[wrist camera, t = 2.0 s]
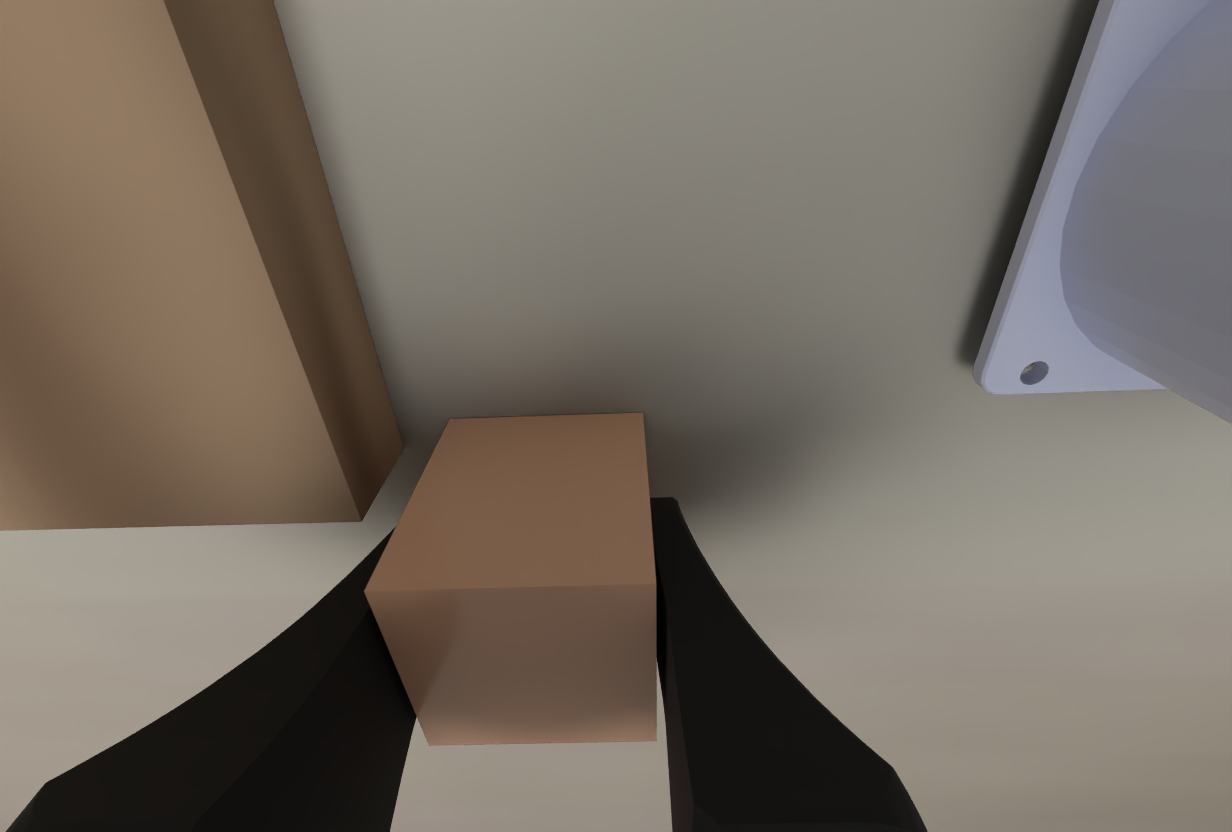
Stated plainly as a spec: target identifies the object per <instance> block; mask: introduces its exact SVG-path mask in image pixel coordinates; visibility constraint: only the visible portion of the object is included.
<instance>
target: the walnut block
mask: <svg viewBox="0 0 1232 832" xmlns="http://www.w3.org/2000/svg"><path fill="white" fill-rule="evenodd" d="M403 449H404V445H403V442H402V438H401V435H400V432H399V428H398V425H397V421H396V418H395V414H394V411H393V408H392V404H391V401H390V397H389V394H388V391H387V387H386V384H385V380H384V377H383V374H382V370H381V367H380V363H379V360H378V356H377V353H376V350H375V346H374V343H373V339H372V336H371V333H370V329H369V326H368V322H367V319H366V315H365V312H364V309H363V305H362V302H361V298H360V295H359V292H358V288H357V285H356V281H355V278H354V275H353V271H352V268H351V264H350V261H349V257H348V254H347V251H346V247H345V244H344V240H343V237H342V234H341V230H340V227H339V223H338V220H337V217H336V213H335V210H334V206H333V203H332V199H331V196H330V193H329V189H328V186H327V182H326V179H325V176H324V172H323V169H322V165H321V162H320V158H319V155H318V152H317V148H316V145H315V141H314V138H313V135H312V131H311V128H310V124H309V121H308V118H307V114H306V111H305V107H304V104H303V100H302V97H301V94H300V90H299V87H298V83H297V80H296V77H295V73H294V70H293V66H292V63H291V59H290V56H289V53H288V49H287V46H286V42H285V39H284V36H283V32H282V29H281V25H280V22H279V19H278V15H277V12H276V8H275V5H274V1H273V0H0V531H5V530H45V529H85V528H125V527H164V526H204V525H244V524H284V523H324V522H362V520H363V518H364V517H365V515H366V513H367V511H368V510H369V508H370V506H371V504H372V503H373V501H374V499H375V497H376V496H377V494H378V492H379V490H380V489H381V487H382V485H383V484H384V482H385V480H386V478H387V477H388V475H389V473H390V471H391V470H392V468H393V466H394V464H395V463H396V461H397V459H398V457H399V456H400V454H401V452H402V450H403Z"/></svg>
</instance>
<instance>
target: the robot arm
mask: <svg viewBox="0 0 1232 832" xmlns="http://www.w3.org/2000/svg"><path fill="white" fill-rule="evenodd" d="M1034 362H1035V365H1034V366H1033V367H1032V369H1031V370H1030V371H1028V372H1027V373H1025V374H1023V375H1021V373H1022V371H1023V370H1024V368H1025V367H1027V366H1028V365H1030V364H1031V363H1034ZM973 378H974V380H975V382H976V383H977V384H978V385H979V386H981V387H982V388H983V389H984V390H986V391H987V392H989V393H990V394H997V395H1008V394H1037V393H1067V392H1097V391H1127V390H1156V389H1170V390H1171V391H1173V392H1175V393H1177V394H1179V395H1180V396H1182V397H1184V398H1186V399H1188V400H1189V401H1191V402H1193V403H1195V404H1196V405H1198V406H1200V407H1202V408H1204V409H1205V410H1207V411H1209V412H1211V413H1213V414H1214V415H1216V416H1218V417H1220V418H1222V419H1223V420H1225V421H1227V422H1229V423H1231V424H1232V0H1099V3H1098V6H1097V9H1096V12H1095V15H1094V18H1093V21H1092V23H1091V26H1090V29H1089V32H1088V35H1087V38H1086V41H1085V44H1084V47H1083V50H1082V53H1081V56H1080V58H1079V61H1078V64H1077V67H1076V70H1075V73H1074V76H1073V79H1072V82H1071V85H1070V88H1069V91H1068V93H1067V96H1066V99H1065V102H1064V105H1063V108H1062V111H1061V114H1060V117H1059V120H1058V123H1057V125H1056V128H1055V131H1054V134H1053V137H1052V140H1051V143H1050V146H1049V149H1048V152H1047V155H1046V158H1045V160H1044V163H1043V166H1042V169H1041V172H1040V175H1039V178H1038V181H1037V184H1036V187H1035V190H1034V192H1033V195H1032V198H1031V201H1030V204H1029V207H1028V210H1027V213H1026V216H1025V219H1024V222H1023V225H1022V227H1021V230H1020V233H1019V236H1018V239H1017V242H1016V245H1015V248H1014V251H1013V254H1012V257H1011V259H1010V262H1009V265H1008V268H1007V271H1006V274H1005V277H1004V280H1003V283H1002V286H1001V289H1000V292H999V294H998V297H997V300H996V303H995V306H994V309H993V312H992V315H991V318H990V321H989V324H988V327H987V329H986V332H985V335H984V338H983V341H982V344H981V347H980V350H979V353H978V356H977V359H976V361H975V364H974V368H973ZM650 508H651V521H652V534H653V547H654V560H655V573H656V657H657V664H658V670H659V677H660V683H661V690H662V696H663V704H664V713H665V722H666V736H667V751H668V766H669V782H670V798H671V813H672V829H673V832H927V829H926V827H925V825H924V823H923V821H922V819H921V816H920V815H919V813H918V811H917V809H916V807H915V805H914V803H913V801H912V800H911V798H910V796H909V794H908V792H907V790H906V789H905V787H904V785H903V784H902V782H901V780H900V778H899V777H898V775H897V773H896V772H895V770H894V768H893V767H892V766H891V765H889V764H888V763H887V762H886V761H885V760H884V759H882V758H881V757H880V756H879V755H878V754H877V753H875V752H874V751H873V750H872V749H871V748H869V747H868V746H867V745H866V744H865V743H864V742H863V741H861V740H860V739H859V738H858V737H857V736H856V735H855V734H854V733H852V732H851V731H850V730H849V729H848V728H847V727H846V726H845V725H844V724H842V723H841V722H840V721H839V720H838V719H837V718H836V717H835V716H834V715H833V714H832V713H831V712H830V711H829V710H828V709H827V708H826V707H825V706H824V705H822V704H821V703H820V702H819V701H818V700H817V699H816V698H815V697H814V696H813V695H812V694H811V693H810V692H809V691H808V689H807V688H806V687H805V686H804V685H803V684H802V683H801V682H800V681H799V680H798V679H797V678H796V677H795V676H794V675H793V674H792V673H791V672H790V671H789V670H788V668H787V667H786V666H785V665H784V664H783V663H782V662H781V661H780V660H779V659H778V658H777V657H776V655H775V654H774V653H773V652H772V651H771V650H770V648H769V647H768V646H767V645H766V644H765V643H764V641H763V640H762V639H761V638H760V637H759V635H758V634H757V633H756V632H755V630H754V629H753V628H752V627H751V625H750V624H749V623H748V622H747V620H746V619H745V618H744V616H743V615H742V614H741V612H740V611H739V610H738V608H737V607H736V606H735V604H734V603H733V601H732V600H731V599H730V597H729V596H728V594H727V593H726V591H725V590H724V588H723V587H722V585H721V584H720V582H719V581H718V579H717V578H716V576H715V575H714V573H713V571H712V570H711V568H710V566H709V565H708V563H707V561H706V560H705V558H704V556H703V555H702V553H701V551H700V549H699V548H698V546H697V544H696V542H695V540H694V538H693V536H692V534H691V532H690V530H689V528H688V526H687V524H686V522H685V520H684V518H683V515H682V513H681V510H680V508H679V505H678V501H676V500H675V499H674V498H673V497H667V498H650ZM395 528H396V527H395ZM395 528H394V529H393V530H392V531H391V532H390V533H389V534H388V535H387V536H386V537H385V538H384V539H383V540H382V541H381V542H380V543H379V544H378V545H377V546H376V548H375V549H374V550H373V551H372V552H371V553H370V554H369V555H368V556H367V557H366V558H365V559H364V560H363V561H362V562H360V563H359V564H358V565H357V566H356V567H355V568H354V569H353V570H352V571H351V572H350V573H349V574H348V575H347V576H346V577H345V578H344V579H343V580H342V581H341V582H340V583H339V584H338V585H336V586H335V587H334V588H333V589H332V590H331V591H330V592H329V593H328V594H327V595H326V596H324V597H323V598H322V599H321V600H320V601H319V602H318V603H317V604H316V605H315V606H314V607H312V608H311V609H310V610H309V611H308V612H307V613H305V614H304V615H303V616H302V617H301V618H300V619H298V620H297V621H296V622H295V623H294V624H292V625H291V626H290V627H289V628H287V629H286V630H285V631H284V632H282V633H281V634H280V635H279V636H277V637H276V638H275V639H273V640H272V641H271V642H270V643H268V644H267V645H266V646H265V647H263V648H262V649H261V650H259V651H258V652H257V653H255V654H254V655H252V656H251V657H250V658H248V659H247V660H245V661H244V662H243V663H241V664H240V665H238V666H237V667H235V668H234V669H233V670H231V671H230V672H228V673H227V674H226V675H224V676H223V677H221V678H220V679H219V680H217V681H216V682H214V683H213V684H211V685H210V686H209V687H207V688H206V689H204V690H203V691H201V692H200V693H198V694H197V695H195V696H194V697H192V698H190V699H189V700H187V701H186V702H184V703H183V704H181V705H180V706H178V707H176V708H175V709H173V710H172V711H170V712H169V713H167V714H165V715H164V716H162V717H160V718H159V719H157V720H156V721H154V722H152V723H151V724H149V725H147V726H146V727H144V728H142V729H141V730H139V731H137V732H136V733H134V734H132V735H131V736H129V737H127V738H126V739H124V740H122V741H120V742H119V743H117V744H115V745H113V746H111V747H110V748H108V749H106V750H104V751H102V752H101V753H99V754H97V755H95V756H94V757H92V758H90V759H88V760H86V761H85V762H83V763H81V764H79V765H77V766H76V767H74V768H72V769H70V770H68V771H67V772H65V773H63V774H61V775H59V776H57V777H56V778H54V779H52V780H50V781H48V782H46V783H45V784H44V786H43V787H42V788H41V789H40V790H39V792H38V793H37V794H36V795H35V796H34V798H33V799H32V800H31V801H30V803H29V804H28V805H27V806H26V807H25V809H24V810H23V811H22V812H21V814H20V815H19V816H18V817H17V818H16V820H15V821H14V822H13V823H12V825H11V826H10V827H9V828H8V829H7V831H6V832H390V828H391V823H392V819H393V814H394V809H395V805H396V800H397V796H398V791H399V787H400V782H401V777H402V773H403V769H404V765H405V761H406V756H407V752H408V748H409V744H410V740H411V735H412V731H413V727H414V724H415V721H416V717H417V716H416V713H415V711H414V709H413V706H412V704H411V701H410V699H409V697H408V694H407V692H406V690H405V687H404V685H403V683H402V680H401V678H400V675H399V673H398V671H397V668H396V666H395V664H394V661H393V659H392V656H391V654H390V652H389V649H388V647H387V645H386V642H385V640H384V638H383V635H382V633H381V630H380V628H379V626H378V623H377V621H376V619H375V616H374V614H373V611H372V609H371V607H370V604H369V602H368V600H367V597H366V595H365V592H364V590H365V588H366V586H367V584H368V582H369V580H370V578H371V576H372V574H373V572H374V570H375V568H376V566H377V564H378V562H379V560H380V558H381V556H382V554H383V552H384V550H385V548H386V546H387V544H388V542H389V540H390V538H391V536H392V534H393V532H394V530H395Z"/></svg>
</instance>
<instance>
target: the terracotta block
mask: <svg viewBox="0 0 1232 832" xmlns="http://www.w3.org/2000/svg"><path fill="white" fill-rule="evenodd" d="M364 592H365V595H366V597H367V600H368V602H369V604H370V607H371V609H372V611H373V614H374V616H375V619H376V621H377V623H378V626H379V628H380V630H381V633H382V635H383V638H384V640H385V642H386V645H387V647H388V649H389V652H390V654H391V656H392V659H393V661H394V664H395V666H396V668H397V671H398V673H399V675H400V678H401V680H402V683H403V685H404V687H405V690H406V692H407V694H408V697H409V699H410V701H411V704H412V706H413V709H414V711H415V713H416V716H417V718H418V720H419V723H420V725H421V728H422V730H423V732H424V735H425V737H426V739H427V742H428V744H429V746H432V745H484V744H536V743H589V742H641V741H657V675H656V573H655V560H654V547H653V534H652V521H651V508H650V495H649V482H648V470H647V457H646V444H645V431H644V418H643V412H642V413H612V414H582V415H552V416H522V417H492V418H463V419H449V421H448V424H447V426H446V428H445V430H444V432H443V434H442V436H441V438H440V440H439V442H438V444H437V446H436V448H435V450H434V452H433V454H432V456H431V458H430V460H429V462H428V464H427V466H426V468H425V470H424V472H423V474H422V476H421V478H420V480H419V482H418V484H417V486H416V488H415V490H414V492H413V494H412V496H411V498H410V500H409V502H408V504H407V506H406V508H405V510H404V512H403V514H402V516H401V518H400V520H399V522H398V524H397V526H396V528H395V530H394V532H393V534H392V536H391V538H390V540H389V542H388V544H387V546H386V548H385V550H384V552H383V554H382V556H381V558H380V560H379V562H378V564H377V566H376V568H375V570H374V572H373V574H372V576H371V578H370V580H369V582H368V584H367V586H366V588H365V590H364Z"/></svg>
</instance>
